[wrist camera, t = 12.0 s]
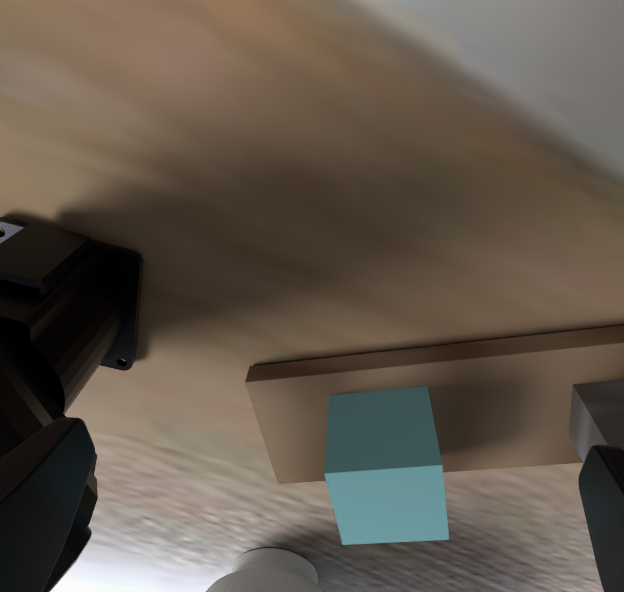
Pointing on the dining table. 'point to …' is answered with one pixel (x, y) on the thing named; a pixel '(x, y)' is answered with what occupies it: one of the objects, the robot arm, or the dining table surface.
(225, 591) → the teacup
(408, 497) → the cube
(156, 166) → the dining table surface
